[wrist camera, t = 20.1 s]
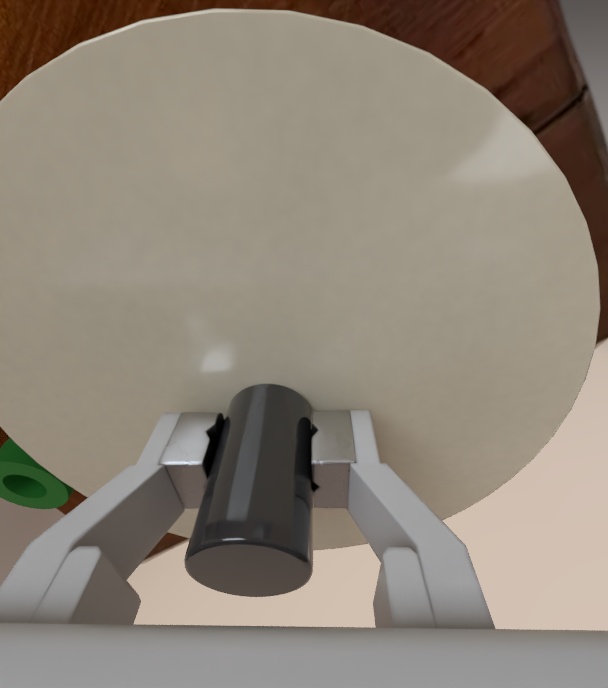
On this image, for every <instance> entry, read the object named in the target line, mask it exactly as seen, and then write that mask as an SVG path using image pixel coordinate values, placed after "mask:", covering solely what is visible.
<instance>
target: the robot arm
mask: <svg viewBox="0 0 608 688" xmlns="http://www.w3.org/2000/svg"><path fill="white" fill-rule="evenodd" d="M223 424H224V417H223V414H222V413H206V412H184V413H174V412H165V413H164V414H163V415H162V416H161V417H160V418H159V420H158V422H157V424H156V426H155V428H154V430H153V432H152V434H151V436H150V438H149V440H148V442H147V444H146V446H145V448H144V450H143V452H142V454H141V456H140V458H139V460H138V462H137V464H136V465H130V466H128V467H127V468H126V469H124V470H123V471H122V472H121V473H119V474H118V475H117V476H115V477H114V478H113V479H112V480H110V481H109V482H108V483H106V484H105V485H104V486H103V487H101V488H100V489H99V490H97V491H96V492H95V493H94V494H92V495H91V496H90V497H89V498H87V499H86V500H85V501H83V502H82V503H81V504H80V505H78V506H77V507H76V508H74V509H73V510H72V511H71V512H69V513H68V514H67V515H65V516H64V517H63V518H62V519H60V520H59V521H58V522H56V523H55V524H54V525H53V526H51V527H50V528H49V529H48V530H46V531H45V532H44V533H42V534H41V535H40V536H39V537H37V538H36V539H35V540H33V541H32V542H31V543H30V544H29V545H28V546H27V548H26V549H25V551H24V552H23V554H22V555H21V557H20V558H19V560H18V561H17V563H16V564H15V566H14V567H13V569H12V570H11V572H10V573H9V575H8V576H7V578H6V579H5V581H4V582H3V584H2V585H1V587H0V688H608V631H587V630H586V631H585V630H580V631H579V630H510V629H507V630H506V629H495V626H494V624H493V621H492V618H491V615H490V612H489V609H488V607H487V604H486V601H485V598H484V595H483V593H482V590H481V587H480V584H479V581H478V578H477V576H476V573H475V570H474V568H473V564H472V562H471V559H470V556H469V553H468V550H467V548H466V545H465V544H464V543H463V542H462V541H461V540H460V539H459V538H458V537H457V536H456V535H455V534H454V533H453V532H452V531H451V530H450V529H449V528H448V527H447V526H446V525H445V524H444V522H442V520H441V519H440V518H439V517H438V516H437V515H436V514H435V513H434V512H433V511H432V510H431V509H430V508H429V507H428V506H427V505H426V504H425V503H424V502H423V501H422V499H421V498H420V497H419V496H418V495H417V494H416V493H415V492H414V491H413V490H412V489H411V488H410V487H409V486H408V485H407V484H406V483H405V482H404V481H403V480H402V479H401V478H400V477H399V475H398V474H397V473H396V472H395V471H394V470H393V469H392V468H391V467H390V466H389V465H388V464H387V463H380V458H379V453H378V447H377V442H376V437H375V432H374V427H373V422H372V417H371V412H370V411H369V410H350V411H349V410H329V411H312V481H313V502H314V508H346V509H347V510H348V512H349V513H350V515H351V517H352V518H353V520H354V521H355V523H356V524H357V526H358V527H359V529H360V531H361V532H362V534H363V535H364V537H365V538H366V540H367V541H368V543H369V544H370V546H371V548H372V549H373V551H374V552H375V554H376V555H377V557H378V558H379V560H380V562H381V566H380V571H379V576H378V581H377V586H376V591H375V596H374V601H373V607H374V616H375V625H376V628H354V627H350V628H349V627H279V626H278V627H276V626H275V627H274V626H200V625H198V626H197V625H196V626H195V625H133V623H134V620H135V618H136V615H137V612H138V609H139V606H140V603H141V600H140V598H139V595H138V594H137V593H136V591H135V590H134V589H133V588H132V587H131V586H130V584H129V583H128V582H127V581H126V580H127V579H128V578H129V576H130V575H131V574H132V573H133V572H134V570H135V569H136V568H137V567H138V566H139V565H140V563H141V562H142V561H143V560H144V559H145V557H146V556H147V555H148V554H149V553H150V551H151V550H152V549H153V548H154V547H155V546H156V544H157V543H158V542H159V541H160V540H161V538H162V537H163V536H164V535H165V534H166V533H167V531H168V530H169V529H170V528H171V527H172V525H173V524H174V523H175V522H176V521H177V520H178V518H179V517H180V516H181V515H182V514H183V512H184V511H185V510H184V509H198V508H199V507H200V503H201V500H202V496H203V493H204V489H205V486H206V482H207V479H208V475H209V472H210V469H211V465H212V462H213V458H214V455H215V451H216V448H217V444H218V441H219V437H220V434H221V430H222V427H223Z"/></svg>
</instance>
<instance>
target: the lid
mask: <svg viewBox="0 0 608 688" xmlns="http://www.w3.org/2000/svg"><path fill="white" fill-rule="evenodd" d="M599 314H600V295H599V278H598V265H597V261H596V257H595V253H594V250H593V246H592V242H591V238H590V234H589V230H588V226H587V222H586V220H585V218H584V216H583V214H582V211H581V209H580V207H579V205H578V203H577V201H576V199H575V197H574V195H573V192H572V190H571V188H570V186H569V184H568V182H567V180H566V178H565V176H564V174H563V173H562V172H561V170H560V169H559V167H558V166H557V165H556V163H555V162H554V161H553V159H552V158H551V157H550V155H549V154H548V153H547V151H546V150H545V148H544V147H543V146H542V144H541V143H540V142H539V140H538V139H537V138H536V136H535V135H534V133H533V132H532V131H531V130H530V129H529V128H528V127H527V126H526V125H525V124H524V123H523V122H522V121H521V120H519V119H518V118H517V117H516V116H515V115H514V114H513V113H512V112H511V111H510V110H509V109H508V108H507V107H505V106H504V105H503V104H502V103H501V102H500V101H499V100H498V99H497V98H496V97H495V96H494V95H493V94H491V93H490V92H489V91H488V90H487V89H486V88H484V87H483V86H481V85H480V84H478V83H477V82H475V81H473V80H472V79H470V78H469V77H467V76H466V75H464V74H462V73H461V72H459V71H458V70H456V69H454V68H453V67H451V66H450V65H448V64H447V63H445V62H443V61H442V60H440V59H439V58H437V57H436V56H434V55H432V54H431V53H429V52H427V51H424V50H422V49H419V48H417V47H415V46H412V45H410V44H407V43H405V42H402V41H400V40H397V39H395V38H392V37H390V36H387V35H385V34H382V33H380V32H377V31H375V30H372V29H370V28H368V27H365V26H363V25H358V24H353V23H349V22H344V21H339V20H334V19H329V18H325V17H320V16H315V15H310V14H306V13H301V12H296V11H291V10H266V9H228V8H212V9H206V10H200V11H194V12H188V13H181V14H175V15H169V16H163V17H157V18H150V19H144V20H141V21H138V22H135V23H133V24H130V25H127V26H125V27H122V28H119V29H116V30H114V31H111V32H108V33H106V34H103V35H100V36H97V37H95V38H92V39H89V40H87V41H84V42H81V43H79V44H77V45H76V46H74V47H72V48H71V49H69V50H68V51H66V52H64V53H63V54H61V55H59V56H58V57H56V58H55V59H53V60H51V61H50V62H48V63H47V64H45V65H43V66H42V67H40V68H39V69H37V70H35V71H34V72H32V73H31V74H29V75H27V76H26V77H25V78H24V79H23V80H22V81H21V82H20V83H19V84H18V85H17V86H16V87H15V88H13V89H12V90H11V91H10V92H9V93H8V94H7V95H6V96H5V97H4V98H3V99H2V100H1V101H0V427H1V428H2V429H3V430H4V431H5V432H6V433H7V435H8V436H9V437H10V438H11V439H12V440H13V441H14V442H15V443H16V444H17V445H18V446H19V447H20V448H22V449H23V450H24V451H25V452H26V453H27V454H28V455H29V456H30V457H32V458H33V459H34V460H35V461H36V462H37V463H38V464H40V465H41V466H42V467H44V468H45V469H46V470H48V471H49V472H50V473H52V474H53V475H54V476H56V477H57V478H58V479H60V480H61V481H62V482H64V483H66V484H67V485H69V486H70V487H72V488H74V489H75V490H77V491H78V492H80V493H81V494H83V495H85V496H86V497H88V498H89V497H90V496H91V495H92V494H94V493H95V492H96V491H97V490H99V489H100V488H101V487H103V486H104V485H105V484H106V483H108V482H109V481H110V480H112V479H113V478H114V477H115V476H117V475H118V474H119V473H121V472H122V471H123V470H124V469H126V468H127V467H128V466H130V465H136V464H137V462H138V460H139V458H140V456H141V454H142V452H143V450H144V448H145V446H146V444H147V442H148V440H149V438H150V436H151V434H152V432H153V430H154V428H155V426H156V424H157V422H158V420H159V418H160V417H161V416H162V415H163V414H164V413H165V412H174V413H184V412H206V413H222V414H223V417H224V424H223V427H222V430H221V434H220V437H219V441H218V444H217V448H216V451H215V455H214V458H213V462H212V465H211V469H210V472H209V475H208V479H207V482H206V486H205V489H204V493H203V496H202V500H201V503H200V507H199V508H198V509H184V510H185V511H184V512H183V514H182V515H181V516H180V517H179V518H178V520H177V521H176V522H175V523H174V524H173V525H172V527H171V528H170V529H169V530H168V531H167V532H170V533H173V534H177V535H180V536H183V537H187V538H190V541H189V545H188V548H187V552H186V555H185V568H186V570H187V572H188V574H189V575H190V576H191V577H192V578H193V579H195V580H196V581H197V582H199V583H201V584H202V585H204V586H206V587H209V588H211V589H214V590H217V591H220V592H224V593H227V594H232V595H239V596H249V597H263V596H264V597H265V596H274V595H279V594H285V593H288V592H291V591H294V590H297V589H299V588H301V587H302V586H304V585H305V584H306V583H307V582H308V581H309V579H310V577H311V575H312V572H313V550H323V549H334V548H343V547H350V546H356V545H362V544H368V541H367V540H366V538H365V537H364V535H363V534H362V532H361V531H360V529H359V527H358V526H357V524H356V523H355V521H354V520H353V518H352V517H351V515H350V513H349V512H348V510H347V509H346V508H314V502H313V481H312V411H329V410H349V411H350V410H369V411H370V412H371V417H372V422H373V427H374V432H375V437H376V442H377V447H378V453H379V458H380V463H387V464H388V465H389V466H390V467H391V468H392V469H393V470H394V471H395V472H396V473H397V474H398V475H399V477H400V478H401V479H402V480H403V481H404V482H405V483H406V484H407V485H408V486H409V487H410V488H411V489H412V490H413V491H414V492H415V493H416V494H417V495H418V496H419V497H420V498H421V499H422V501H423V502H424V503H425V504H426V505H427V506H428V507H429V508H430V509H431V510H432V511H433V512H434V513H435V514H436V515H437V516H438V517H439V518H440V519H441V520H444V519H446V518H448V517H450V516H452V515H454V514H456V513H458V512H460V511H462V510H464V509H466V508H468V507H470V506H471V505H473V504H474V503H476V502H478V501H479V500H481V499H483V498H485V497H486V496H488V495H489V494H491V493H492V492H494V491H495V490H496V489H498V488H499V487H500V486H502V485H503V484H504V483H506V482H507V481H508V480H510V479H511V478H512V477H514V476H515V475H516V474H517V473H518V472H519V471H520V470H521V469H522V468H524V467H525V466H526V465H527V464H528V463H529V462H530V461H531V460H532V459H533V458H534V457H535V456H536V455H537V454H538V453H539V451H540V450H541V449H542V448H543V447H544V446H545V445H546V444H547V442H548V441H549V440H550V439H551V438H552V437H553V435H554V434H555V432H556V431H557V429H558V428H559V426H560V425H561V423H562V422H563V420H564V419H565V417H566V416H567V414H568V413H569V412H570V410H571V408H572V406H573V404H574V402H575V400H576V398H577V396H578V394H579V392H580V390H581V387H582V385H583V383H584V381H585V379H586V376H587V372H588V369H589V366H590V362H591V359H592V356H593V352H594V349H595V346H596V338H597V330H598V322H599Z"/></svg>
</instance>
